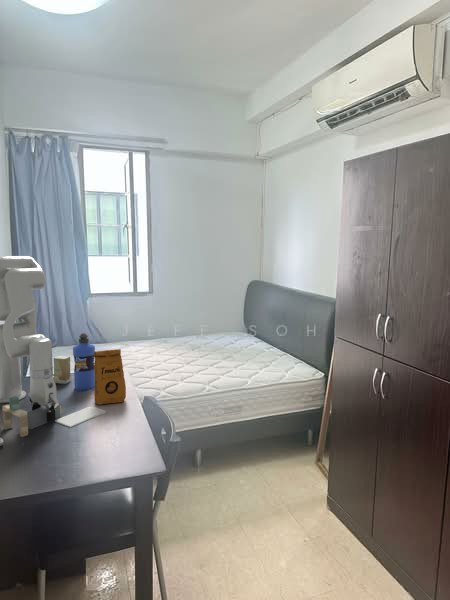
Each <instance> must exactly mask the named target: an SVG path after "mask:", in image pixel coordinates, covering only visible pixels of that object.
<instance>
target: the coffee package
mask: <svg viewBox="0 0 450 600" xmlns="http://www.w3.org/2000/svg"><path fill="white" fill-rule="evenodd" d="M121 351H122V350H121V348H118V349H109V350H108V349H107V350H95V352H94V372H95V386H94V389H93V391H94V393H93V394H94V397H93V399H94V402H95V404H97V405H106V404H117V403H123V402H125V399H126V398H127V394H126V393H127V390H126V389H127V387H126V385H127V384H126V380H125V371H124V366H123V361H122V353H121Z"/></svg>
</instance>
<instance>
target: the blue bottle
mask: <svg viewBox="0 0 450 600" xmlns="http://www.w3.org/2000/svg"><path fill="white" fill-rule="evenodd" d="M88 337H89V335H88V334H86V333H81V334H80V335H79V336H78V344H77V345H74V346H73V347H72V356H73V359H74V368H73V370H74V371H73V376H74V390H75V391H77V392H88V391H91V390H94V386H95V372H94V366H95V364H94V363H95V357H94V352H95V351H96V346H95V345H94V344H91V343H90V341H89V340H90V339H89V338H88Z"/></svg>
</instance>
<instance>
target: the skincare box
mask: <svg viewBox="0 0 450 600" xmlns="http://www.w3.org/2000/svg"><path fill="white" fill-rule="evenodd" d="M53 376H54V379H55V383H56V384H63V385H66V384H68V383H70V382H71V356H65V355H57V356H55V357H53Z"/></svg>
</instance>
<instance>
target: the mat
mask: <svg viewBox="0 0 450 600" xmlns="http://www.w3.org/2000/svg"><path fill="white" fill-rule="evenodd" d="M105 413H107V412H106V410H103V409H100V408H97V407H94V406H88V407H85V408H83V409H80V410H77V411H75V412H72V413H70V414H67V415H65V416H62V417H60V418H58V419H56V420H55V421H54V422H55V423H57V424H60V425H63V426H65V427H67V428H72V427H75V426H78V425H80V424H82V423H84V422H87V421H89V420H92V419H95V418H96V417H99V416H101V415H103V414H105Z"/></svg>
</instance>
